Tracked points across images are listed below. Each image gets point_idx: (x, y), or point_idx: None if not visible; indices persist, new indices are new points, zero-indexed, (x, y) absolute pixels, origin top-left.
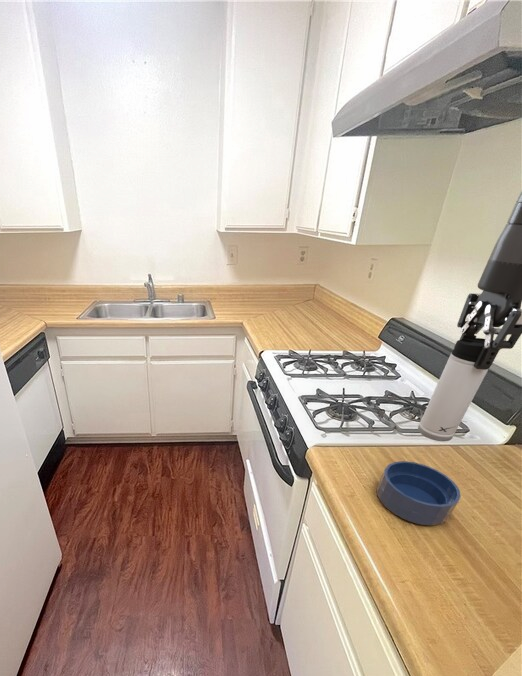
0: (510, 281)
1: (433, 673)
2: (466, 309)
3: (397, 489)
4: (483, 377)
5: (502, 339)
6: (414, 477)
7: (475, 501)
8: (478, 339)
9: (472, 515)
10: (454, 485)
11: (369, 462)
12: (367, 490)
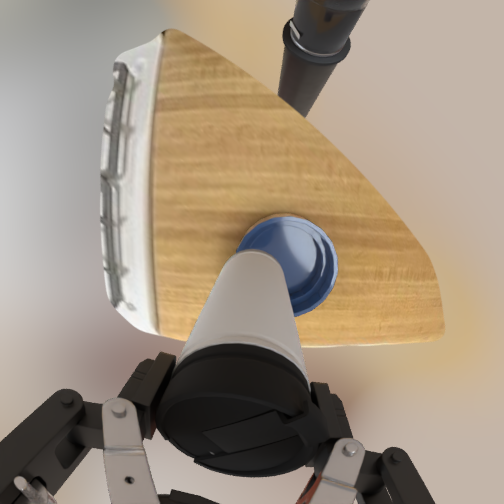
0: None
1: (432, 338)
2: (58, 488)
3: (298, 313)
4: (295, 336)
5: (387, 500)
6: (251, 244)
7: (287, 160)
8: (173, 405)
9: (313, 186)
10: (298, 221)
11: (193, 271)
12: None
